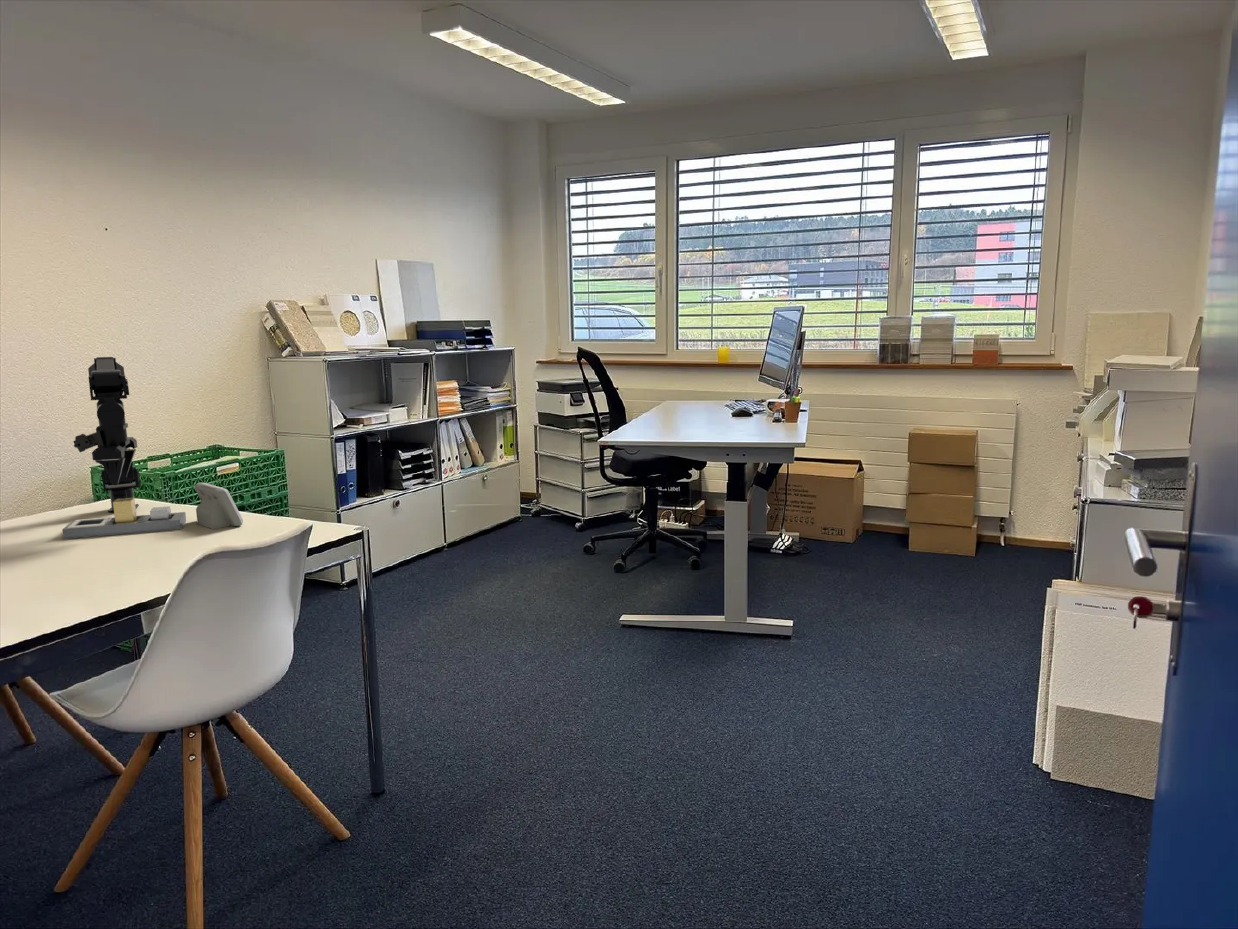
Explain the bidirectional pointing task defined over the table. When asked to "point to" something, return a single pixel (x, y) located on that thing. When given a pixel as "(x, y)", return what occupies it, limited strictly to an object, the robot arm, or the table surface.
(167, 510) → the steel peg
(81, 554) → the table surface
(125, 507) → the brass peg
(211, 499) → the digital clock
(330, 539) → the table surface
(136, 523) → the rail
